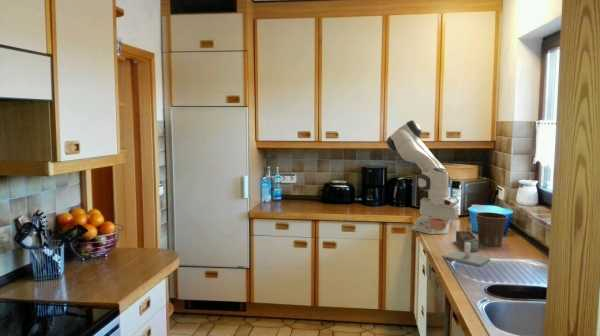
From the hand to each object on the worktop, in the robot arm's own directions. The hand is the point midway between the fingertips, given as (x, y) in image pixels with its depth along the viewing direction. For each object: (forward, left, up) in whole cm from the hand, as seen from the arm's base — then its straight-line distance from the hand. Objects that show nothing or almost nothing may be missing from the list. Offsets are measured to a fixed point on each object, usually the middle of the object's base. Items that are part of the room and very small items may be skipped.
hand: (438, 225), depth 239 cm
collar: (0, 0, -2) cm, 2 cm away
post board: (+18, -5, -13) cm, 23 cm away
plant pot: (+15, +32, -13) cm, 38 cm away
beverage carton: (+8, +18, -14) cm, 24 cm away
